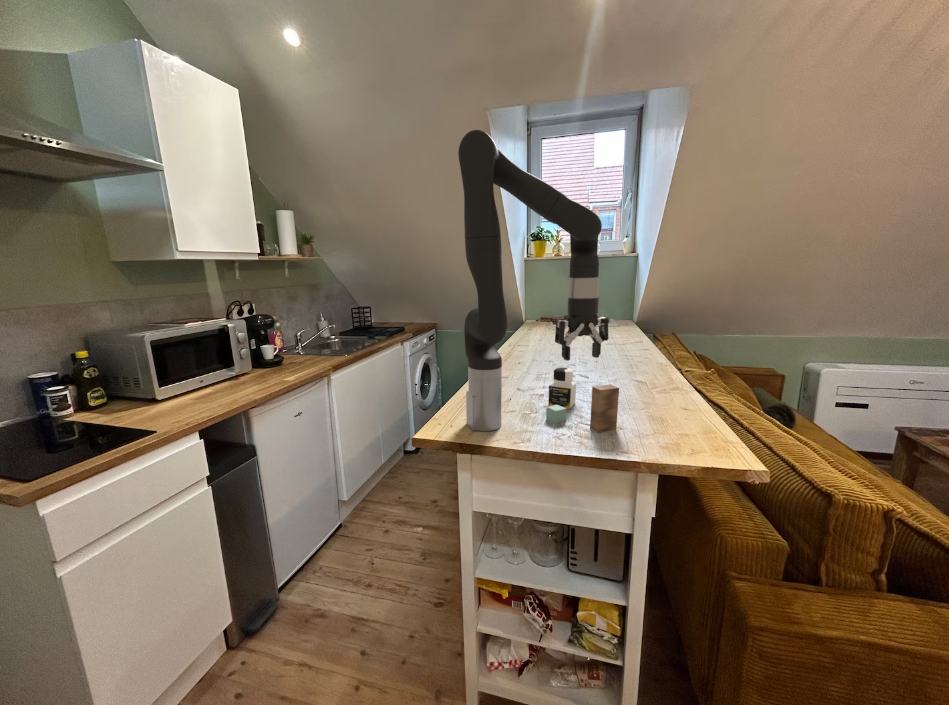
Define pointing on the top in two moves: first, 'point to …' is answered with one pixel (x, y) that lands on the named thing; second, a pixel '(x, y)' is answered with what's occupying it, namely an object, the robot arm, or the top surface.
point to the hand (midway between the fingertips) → (581, 358)
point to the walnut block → (604, 408)
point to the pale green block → (556, 414)
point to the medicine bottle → (562, 388)
